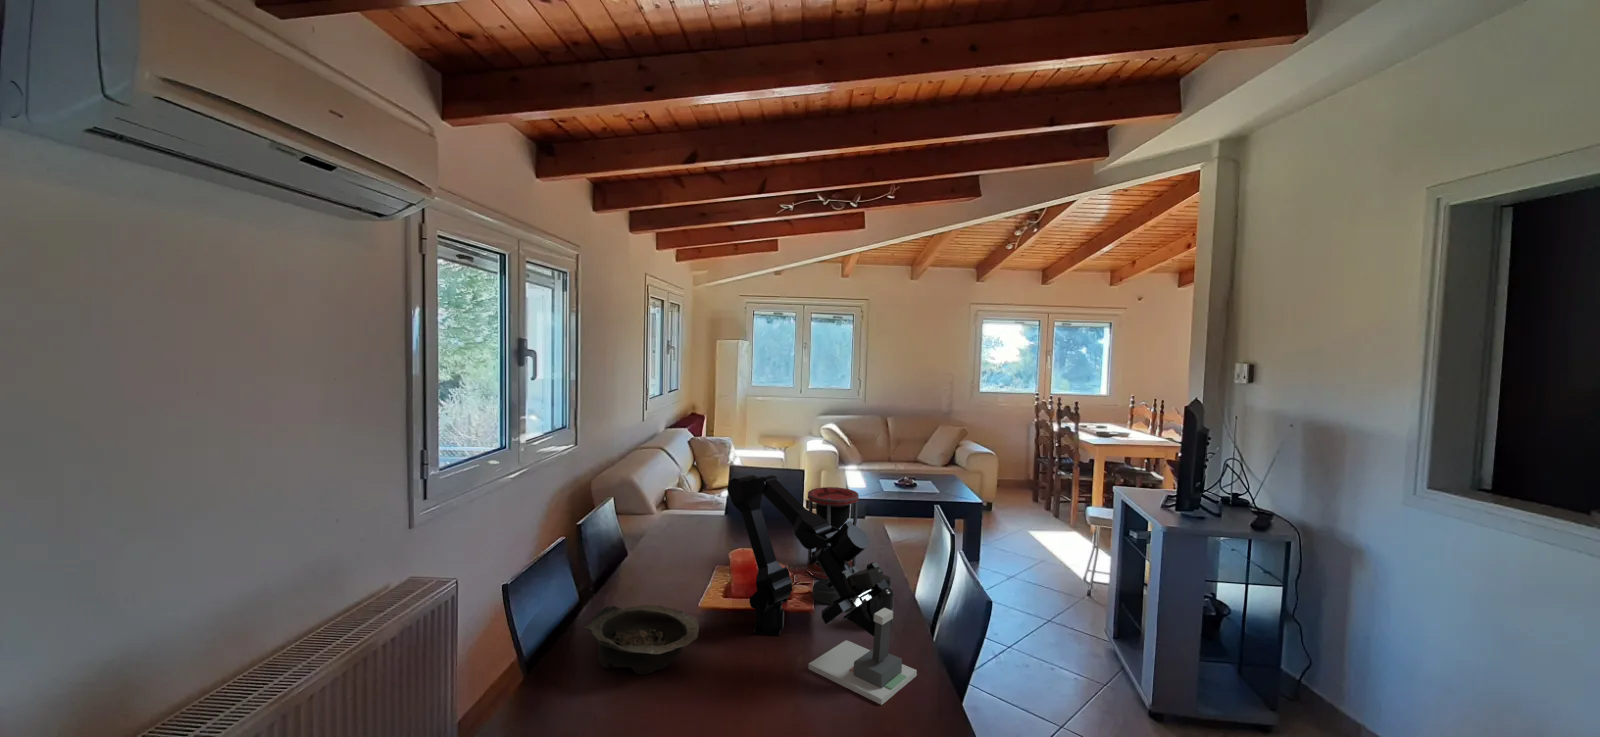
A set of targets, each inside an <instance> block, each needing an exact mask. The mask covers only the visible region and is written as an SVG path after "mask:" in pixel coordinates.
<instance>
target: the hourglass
mask: <svg viewBox="0 0 1600 737" xmlns="http://www.w3.org/2000/svg"><path fill="white" fill-rule="evenodd" d="M859 497H860V495H859V493H858V492H857V491H855V490H853V489H848V488H844V487H837V486H836V487H832V486H829V487H825V486H824V487H818V488H812V489H811V490H808V492H807V499H808V511H810V512H813V503H814V504H816V505H815V514H818V515H820V516H821V517H822V518H824V519H825V520H826V521H828V522H829V523H830V525H831V526H834V527H836V528H838V529H841V527H842V526H843V525H844V524H845V523H847V521H848V519H849V517H850V513H851V511H850V510H851V506H850V505H852V504H853V512H852V514H853V515H852V517H853V518H852V520H853V521H852V524H853V525H854V526H857V523H858V501H859V499H860V498H859ZM824 546H831V544H830V543H829V544H826V545H824ZM824 546H821V547H817V548H815V551H816V550H819V551H820V550H821V549H822V548H823V547H824ZM812 550H813V549H807V563H806V566H805V568H806V569H807V570H808V571H810V572H811V573H812V574H813V576H814V577H813V576H812V577H813V578H815V579H818V580H829V579H828V578H827V576H826V574H825V573H824V571H823V569H822V568H821V566H820V564H819V563H818V562H817V563H815V564H813V565H811V564H810V561H811V557H812V552H813V551H812ZM847 562H848V563H849V565H850V567H853V566H855V567H857V568H858V565H857V556H856V557H855V558H853V559H852V560H851V561H847Z"/></svg>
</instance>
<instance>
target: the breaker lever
mask: <svg viewBox="0 0 1600 737" xmlns="http://www.w3.org/2000/svg"><path fill="white" fill-rule="evenodd" d="M891 619H893V620H894V610H893V611H891V610H889V609H887V608H883V609H881V610H880V611H878V612H876V613H875V614H874V622H875V632H874V636H873V645H872V646H873V647H872V649H873V658H872V659H873V660H875V661H877V662H880V661H881V660H883V659H884V658H886V657H887V656H888V653H889V646H890V636H891V635H890V634H891V627H890V623H891Z"/></svg>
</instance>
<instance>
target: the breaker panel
mask: <svg viewBox="0 0 1600 737" xmlns="http://www.w3.org/2000/svg"><path fill="white" fill-rule="evenodd" d="M872 658H873V648H871V649H868V648H865V647H864V646H861V645H859V644H856V643H855V642H851V641H850V640H844V641H842V642H841V643H839V644H838V645H836V646H835V647H832V648H831V649H830V650H828V651H826V652H825V653H823V654H822V655H820V656H819V657H817V658H815V659H814V660H812V661H811V662H809V663H808V670H810V671H811V672H813V673H816V674H818V675H820V676H821V677H824V678H826V679H828V680H829V681H832V682H833V683H836V684H838V685H840V686H842V687H844V688H846V689H849V690H851V691H852V692H854V693H856V694H858V695H861V696H862V697H865V698H867V699H868V700H870V701H873V702H875V703H876V704H879V705H881V706H882V705H883V704H885V703H886V702H887V701H888V700H889V699H891V698H892V697H893V696H895V695H896V694H897V692H899V691H900V690H901V689H903V688H904V687H905V686H906V685H908V683H910V682H911V681H912V680H913V679H914V678H916V677H917V675H918V673H917V672H918V671H917V669H915V668H912V667H910V666H907V665H906V664H903V658H902V657H899V656H897V655H894V654H891V653H889V652H888V656H887V657H886V658H884V659H883V660H881V661H880V662H877V661H875V660H873V659H872Z"/></svg>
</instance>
